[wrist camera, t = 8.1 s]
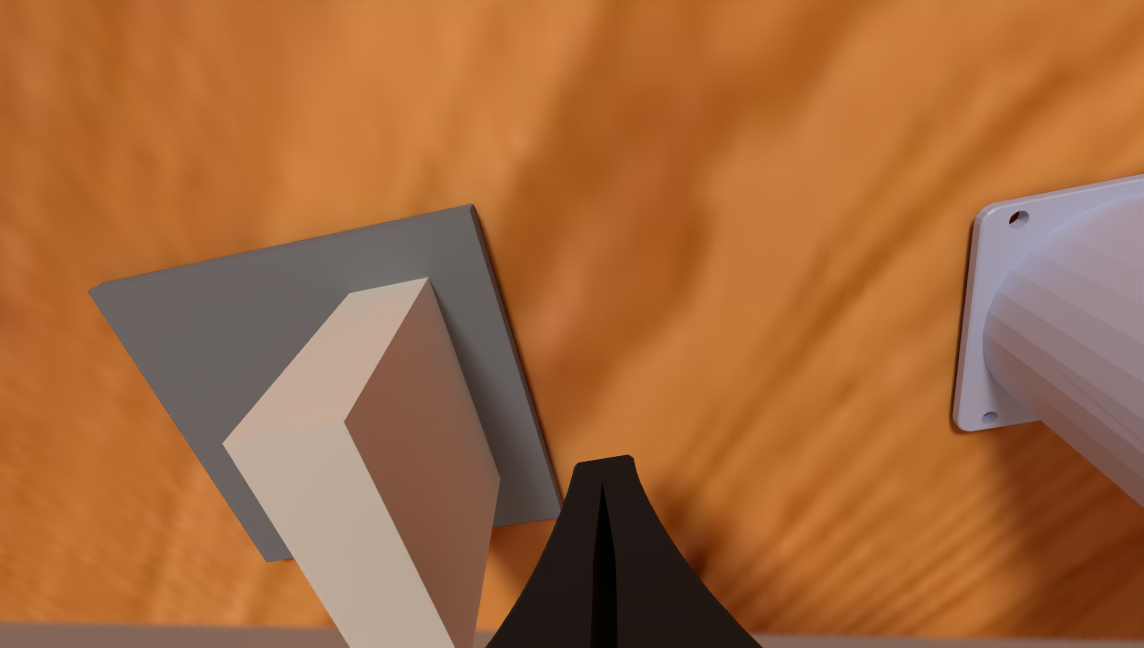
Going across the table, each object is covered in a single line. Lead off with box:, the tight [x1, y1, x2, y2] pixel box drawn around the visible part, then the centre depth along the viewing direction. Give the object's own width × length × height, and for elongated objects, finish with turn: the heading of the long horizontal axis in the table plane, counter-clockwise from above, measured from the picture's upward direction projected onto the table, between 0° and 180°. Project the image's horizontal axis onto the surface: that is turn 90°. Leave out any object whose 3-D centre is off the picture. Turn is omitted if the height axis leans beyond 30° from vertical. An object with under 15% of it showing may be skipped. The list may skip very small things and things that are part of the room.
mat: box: [88, 204, 563, 562], centre depth 20 cm, size 12×12×1 cm
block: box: [222, 277, 500, 648], centre depth 16 cm, size 2×8×7 cm, turn 12°
